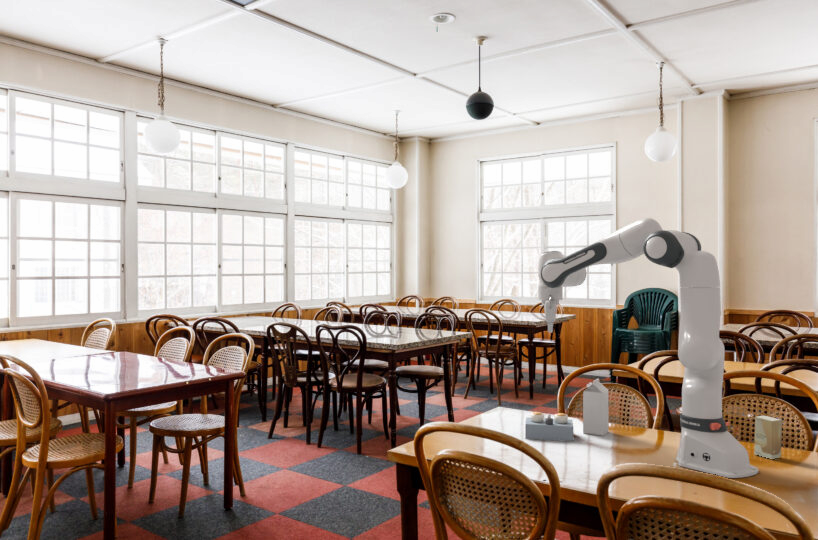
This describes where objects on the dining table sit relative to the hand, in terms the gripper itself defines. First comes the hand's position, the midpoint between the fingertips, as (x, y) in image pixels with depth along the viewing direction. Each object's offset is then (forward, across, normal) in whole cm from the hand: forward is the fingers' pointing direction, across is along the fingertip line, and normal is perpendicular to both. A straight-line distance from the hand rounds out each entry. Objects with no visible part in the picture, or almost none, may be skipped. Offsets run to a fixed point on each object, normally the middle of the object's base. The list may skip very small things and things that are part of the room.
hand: (550, 332), depth 234 cm
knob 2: (+35, -14, -4) cm, 38 cm away
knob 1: (+35, -14, +4) cm, 38 cm away
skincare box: (+35, -24, -66) cm, 79 cm away
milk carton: (+35, -5, -16) cm, 39 cm away
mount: (+35, -14, 0) cm, 38 cm away
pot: (+30, -17, 0) cm, 34 cm away
